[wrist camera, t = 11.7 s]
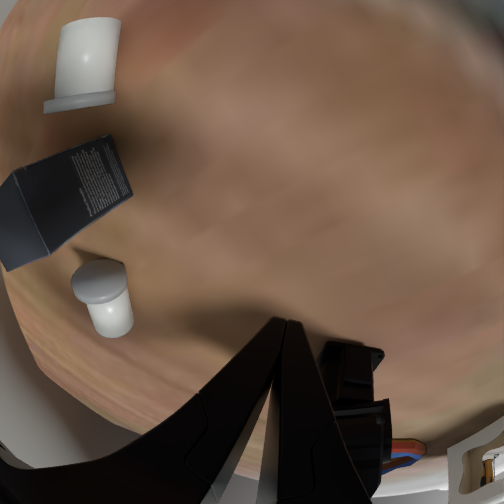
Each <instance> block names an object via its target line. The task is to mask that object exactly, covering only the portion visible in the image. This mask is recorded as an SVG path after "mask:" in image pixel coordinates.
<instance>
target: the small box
mask: <svg viewBox="0 0 504 504" xmlns="http://www.w3.org/2000/svg"><path fill="white" fill-rule="evenodd" d="M132 196H133V192H132V189H131V187H130V184H129V182H128V180H127V177H126V175H125V172H124V169H123V167H122V164H121V162H120V159H119V156H118V154H117V151H116V149H115V146H114V143H113V140H112V137H111V135H110V134H107V135H104V136H101V137H98V138H96V139H93V140H91V141H88V142H85V143H82V144H79V145H77V146H74V147H72V148H69V149H66V150H64V151H61V152H59V153H56V154H54V155H51V156H49V157H47V158H43V159H42V160H39V161H37V162H34V163H31V164H29V165H26V166H24V167H21V168H19V169H16V170H14V171H12V173H11V174H10V175H9V176H8V177H7V179H6V180H5V181H4V182H3V184H2V185H1V186H0V260H1V262H2V264H3V265H4V267H5V269H6V271H7V272H9V271H11V270H14V269H16V268H18V267H21V266H23V265H26V264H28V263H31V262H33V261H36V260H39V259H42V258H44V257H47V256H50V255H51V254H52V253H53V252H55V251H56V250H57V249H59V248H60V247H61V246H63V245H64V244H65V243H67V242H68V241H69V240H71V239H72V238H73V237H75V236H76V235H77V234H79V233H80V232H81V231H83V230H84V229H85V228H87V227H88V226H90V225H91V224H92V223H94V222H95V221H97V220H98V219H100V218H101V217H102V216H104V215H105V214H107V213H108V212H110V211H111V210H113V209H114V208H116V207H117V206H119V205H120V204H121V203H123V202H124V201H126V200H127V199H129V198H130V197H132Z"/></svg>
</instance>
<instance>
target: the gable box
mask: <svg viewBox="0 0 504 504" xmlns="http://www.w3.org/2000/svg"><path fill="white" fill-rule="evenodd" d="M503 445H504V416H502V417H501V418H499V419H498V420H496V421H495V422H493V423H492V424H490V425H488V426H487V427H485V428H484V429H482V430H480V431H479V432H477V433H475V434H473V435H472V436H470V437H468V438H466V439H464V440H463V441H461V442H459V443H457V444H455V445H453V446H451V447H449V448H447V457H448V478H449V501H448V504H498V503H500V502H502V501H504V478H503V479H500V480H497V481H494V482H491V483H489V484H487V485H485V486H483V487H480V482H481V478H482V474H483V462H482V457H483V455H484V454H485V453H486V452H487V451H489V450H492V449H496V448H499V447H501V446H503Z"/></svg>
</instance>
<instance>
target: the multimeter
mask: <svg viewBox="0 0 504 504" xmlns="http://www.w3.org/2000/svg"><path fill="white" fill-rule="evenodd" d="M496 455H499V454H496ZM495 458H496V457H495V456H494V459H495ZM492 462H493V459H492V460H491V459H489V460H486V461H485V462H483V474H482V478H481V482H480V487H483V486H485V485H487V484H489V483H491V482H493V469H492ZM494 477H495V474H494Z"/></svg>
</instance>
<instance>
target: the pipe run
mask: <svg viewBox="0 0 504 504" xmlns="http://www.w3.org/2000/svg"><path fill="white" fill-rule="evenodd" d="M121 24H122V22H121V21H120V20H118V19H114V18H106V17H97V18H87V19H81V20H77V21H74V22H71V23H68V24H66V25H64V26H63V27H62V28H61V33H60V40H59V47H58V55H57V64H56V76H55V94H54V99H52V100H47V101H44V114H49V113H55V112H60V111H66V110H72V109H79V108H85V107H92V106H99V105H105V104H112V103H115V98H116V91H114V81H115V69H116V59H117V51H118V43H119V36H120V30H121ZM127 284H128V279H127V274H126V269H125V267H124V266H123V265H122V264H121V263H119V262H118V261H115V260H111V259H98V260H94V261H90V262H88V263H86V264H84V265H82V266H81V267H79V268H78V269H77V270H76V271H75V273H74V274H73V276H72V279H71V285H72V288H73V291H74V294H75V296H76V297H77V298H78V299H79V300H80V301H82V302H84V303H86V304H87V307H88V310H89V313H90V316H91V319H92V322H93V324H94V327H95V329H96V331H97V332H98V333H99V334H100V335H102V336H104V337H107V338H117V337H120V336H123V335H125V334H126V333H128V332H129V331H130V330H131V328H132V327H133V324H134V316H133V312H132V308H131V303H130V298H129V293H128V288H127Z"/></svg>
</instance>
